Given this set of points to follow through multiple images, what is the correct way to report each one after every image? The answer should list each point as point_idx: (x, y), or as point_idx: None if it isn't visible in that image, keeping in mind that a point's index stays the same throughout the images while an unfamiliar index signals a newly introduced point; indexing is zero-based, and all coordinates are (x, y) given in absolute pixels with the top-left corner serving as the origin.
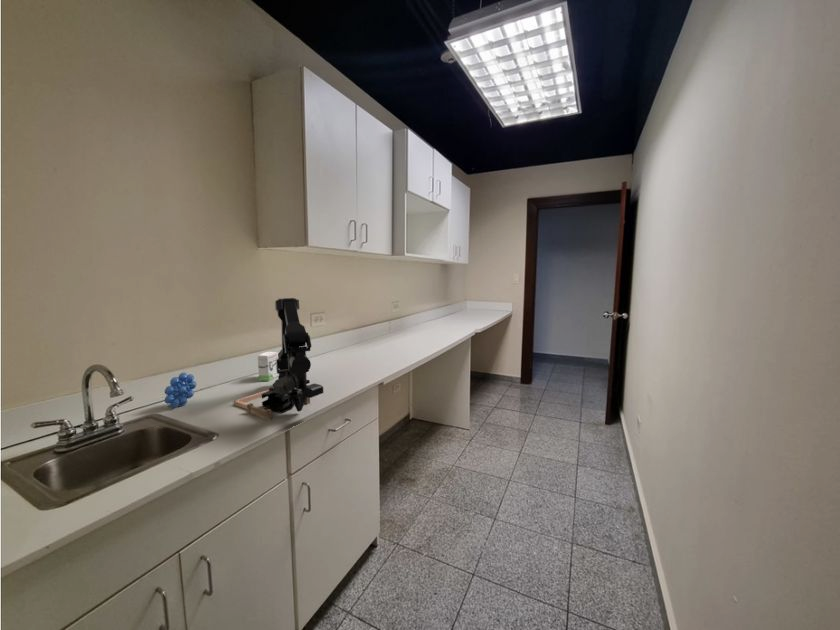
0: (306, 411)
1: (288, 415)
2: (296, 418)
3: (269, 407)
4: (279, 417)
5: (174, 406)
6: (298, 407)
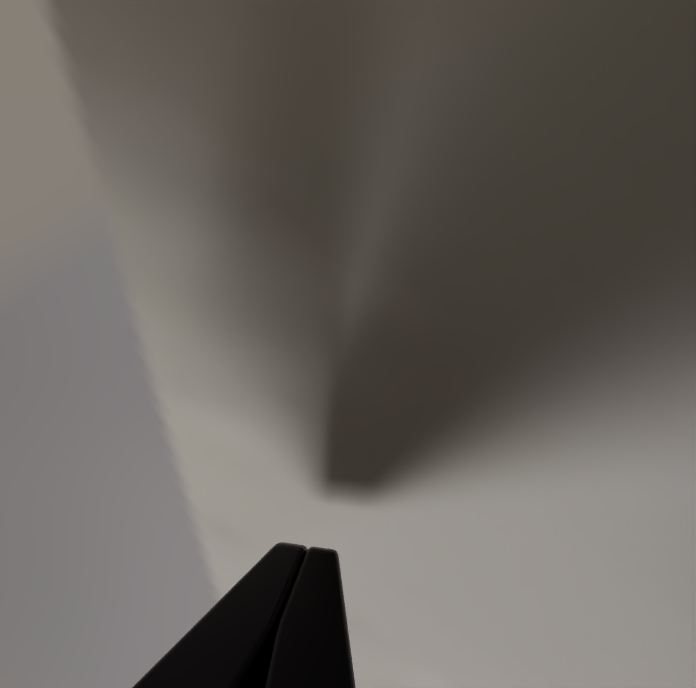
0: None
1: (493, 369)
2: (163, 325)
3: None
4: (640, 159)
5: None
6: (211, 624)
